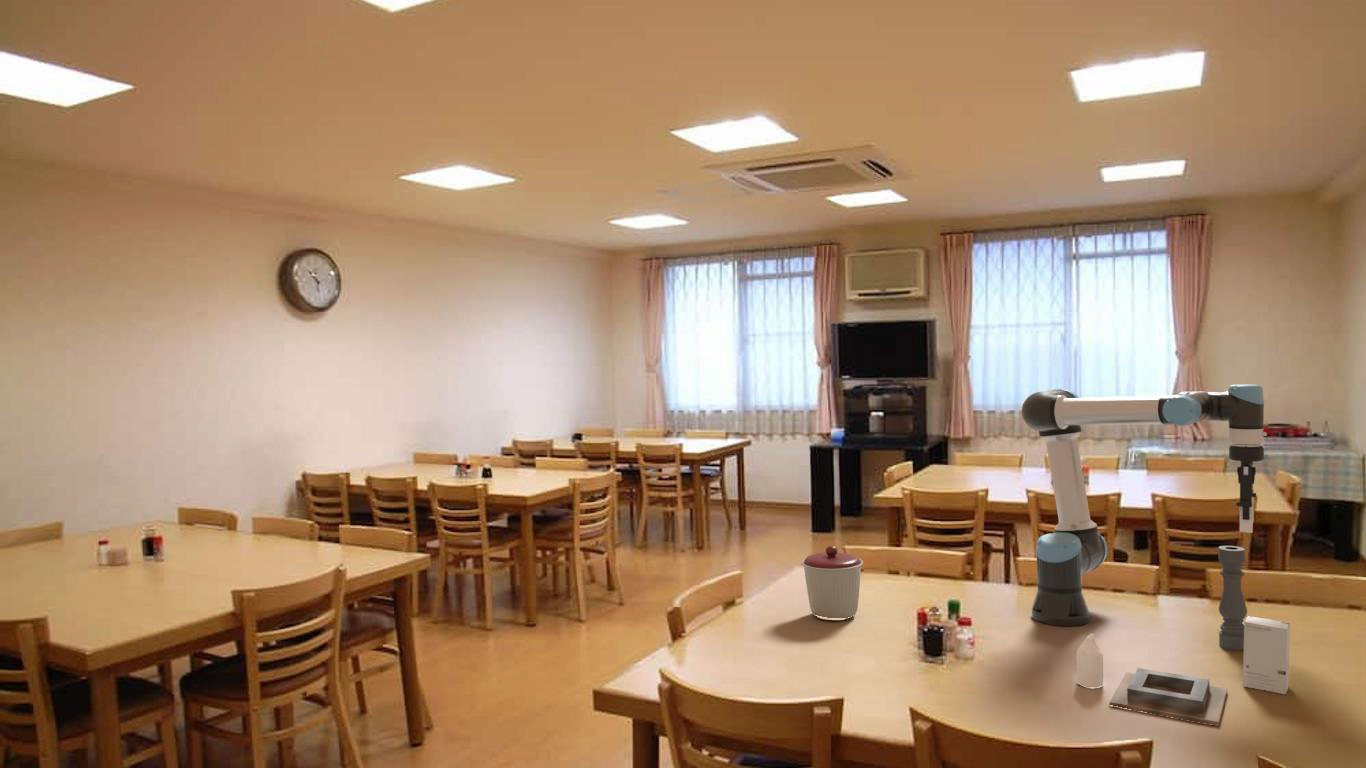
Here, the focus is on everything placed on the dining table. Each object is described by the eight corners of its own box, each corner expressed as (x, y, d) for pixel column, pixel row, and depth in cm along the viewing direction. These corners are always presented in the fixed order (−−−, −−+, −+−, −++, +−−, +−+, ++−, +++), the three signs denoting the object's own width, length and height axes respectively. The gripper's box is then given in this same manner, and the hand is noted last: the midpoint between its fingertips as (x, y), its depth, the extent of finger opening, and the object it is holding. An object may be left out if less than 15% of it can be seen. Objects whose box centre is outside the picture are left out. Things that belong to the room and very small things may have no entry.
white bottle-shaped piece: (1077, 627, 203) (1103, 630, 200) (1078, 678, 203) (1105, 682, 200) (1073, 635, 198) (1100, 638, 195) (1075, 687, 198) (1102, 691, 195)
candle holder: (1246, 643, 220) (1243, 546, 220) (1250, 651, 215) (1248, 551, 214) (1217, 641, 223) (1215, 544, 222) (1221, 649, 217) (1218, 550, 217)
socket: (1109, 706, 187) (1109, 690, 186) (1126, 676, 203) (1125, 661, 203) (1218, 726, 175) (1218, 709, 175) (1226, 693, 191) (1226, 677, 191)
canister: (874, 611, 261) (871, 542, 260) (851, 629, 246) (848, 555, 245) (818, 604, 271) (815, 537, 270) (793, 621, 255) (790, 550, 255)
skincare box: (1242, 687, 194) (1241, 621, 193) (1246, 679, 198) (1245, 614, 198) (1288, 695, 188) (1287, 627, 188) (1291, 686, 193) (1290, 620, 192)
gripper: (1263, 451, 210) (1264, 538, 211) (1264, 439, 230) (1264, 519, 231) (1226, 449, 214) (1227, 535, 215) (1230, 439, 235) (1231, 516, 235)
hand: (1246, 527), depth 223 cm, fingers open, 13 cm apart
